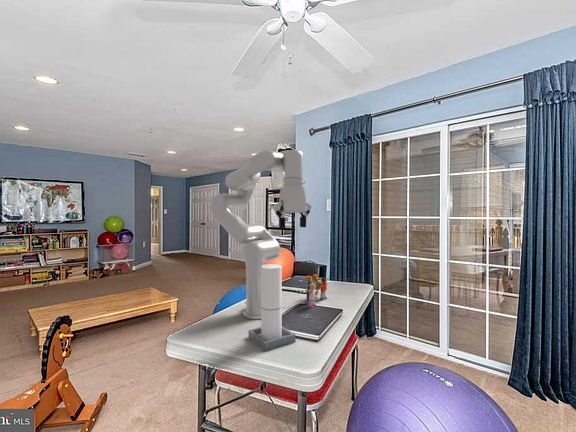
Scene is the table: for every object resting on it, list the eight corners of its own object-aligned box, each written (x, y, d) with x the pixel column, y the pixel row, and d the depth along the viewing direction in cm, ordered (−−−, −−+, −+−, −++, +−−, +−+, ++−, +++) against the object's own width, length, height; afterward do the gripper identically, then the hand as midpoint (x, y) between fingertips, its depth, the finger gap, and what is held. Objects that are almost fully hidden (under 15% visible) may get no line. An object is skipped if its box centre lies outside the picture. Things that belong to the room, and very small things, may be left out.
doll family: (312, 310, 133) (312, 281, 132) (293, 306, 138) (293, 278, 137) (329, 297, 151) (329, 271, 151) (312, 294, 156) (312, 269, 156)
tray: (248, 337, 106) (248, 330, 106) (277, 329, 112) (277, 322, 112) (264, 351, 96) (264, 343, 96) (295, 341, 102) (295, 334, 102)
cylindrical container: (281, 332, 108) (281, 264, 107) (281, 341, 101) (281, 268, 100) (261, 332, 108) (261, 264, 107) (260, 341, 100) (260, 268, 99)
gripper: (305, 184, 122) (304, 226, 123) (268, 182, 112) (268, 228, 113) (316, 183, 116) (316, 227, 116) (278, 181, 106) (278, 229, 107)
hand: (292, 227), depth 115 cm, fingers open, 9 cm apart
